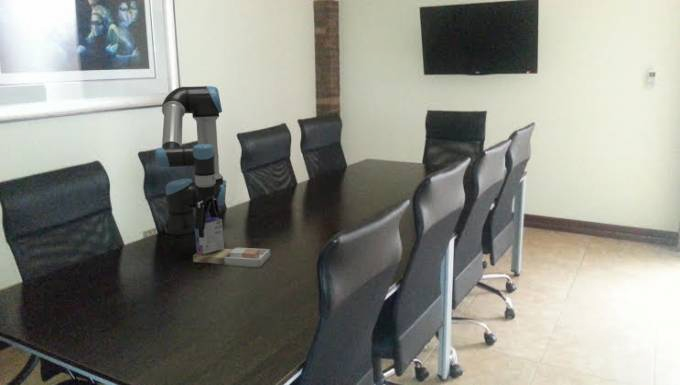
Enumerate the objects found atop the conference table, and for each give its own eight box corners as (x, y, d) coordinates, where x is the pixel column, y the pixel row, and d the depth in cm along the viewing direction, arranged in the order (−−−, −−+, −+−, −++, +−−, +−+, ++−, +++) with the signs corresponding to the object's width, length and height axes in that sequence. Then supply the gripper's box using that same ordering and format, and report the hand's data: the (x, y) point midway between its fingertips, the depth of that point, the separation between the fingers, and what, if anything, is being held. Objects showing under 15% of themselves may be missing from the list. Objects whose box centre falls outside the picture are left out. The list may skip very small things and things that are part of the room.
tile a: (230, 259, 215) (229, 252, 214) (235, 255, 219) (234, 248, 219) (242, 260, 214) (241, 253, 213) (247, 256, 218) (246, 249, 218)
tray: (224, 265, 211) (224, 257, 211) (236, 254, 223) (236, 247, 222) (259, 267, 209) (259, 259, 208) (270, 256, 220) (270, 249, 219)
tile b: (242, 260, 213) (242, 253, 213) (247, 256, 218) (246, 249, 218) (254, 261, 212) (254, 254, 212) (259, 257, 217) (259, 249, 217)
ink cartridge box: (217, 245, 223) (215, 210, 220) (225, 248, 220) (222, 213, 216) (195, 251, 217) (192, 215, 213) (202, 254, 213) (200, 218, 209)
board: (193, 261, 215) (192, 255, 214) (204, 253, 225) (204, 247, 224) (224, 264, 212) (224, 257, 212) (234, 255, 222) (234, 249, 221)
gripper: (201, 192, 200) (205, 250, 205) (227, 179, 222) (230, 232, 227) (182, 191, 202) (186, 249, 207) (209, 178, 224) (213, 231, 229)
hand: (209, 240), depth 217 cm, fingers closed on ink cartridge box, 11 cm apart
